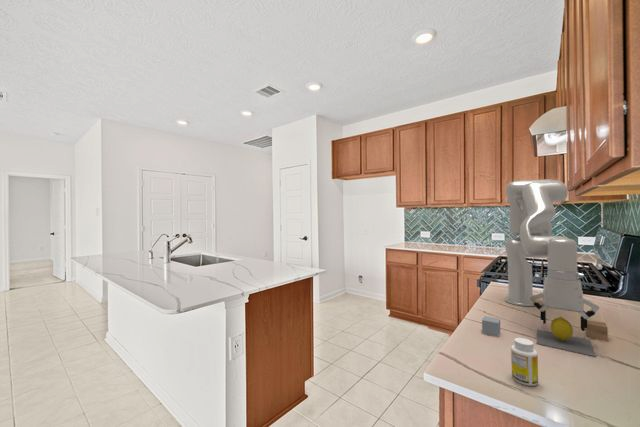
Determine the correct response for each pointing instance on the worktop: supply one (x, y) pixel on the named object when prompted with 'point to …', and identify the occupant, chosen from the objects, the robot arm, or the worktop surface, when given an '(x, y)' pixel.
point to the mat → (565, 343)
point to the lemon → (561, 328)
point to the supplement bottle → (524, 362)
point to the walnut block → (596, 330)
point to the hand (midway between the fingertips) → (562, 325)
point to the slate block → (491, 326)
